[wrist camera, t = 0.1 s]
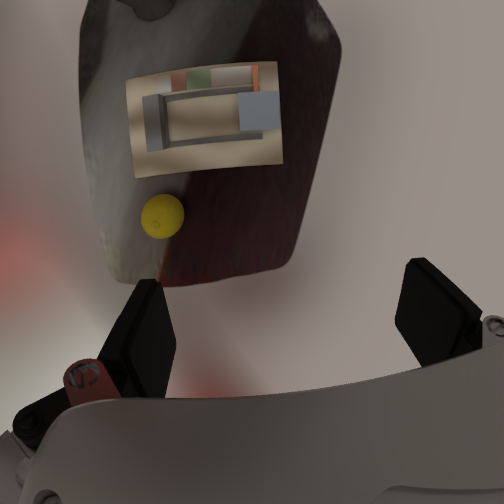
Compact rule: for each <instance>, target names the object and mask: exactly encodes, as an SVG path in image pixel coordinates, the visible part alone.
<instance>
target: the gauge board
mask: <svg viewBox="0 0 504 504" xmlns="http://www.w3.org/2000/svg"><path fill="white" fill-rule="evenodd" d="M252 65H257V72H258V87H259V92H261V91H278V96H279V83H278V69H277V61H276V62H246V63H231V64H220V65H210V66H202V67H194V68H187V69H180V70H174V71H168V72H163V73H158V74H152V75H148V76H143V77H138V78H134V79H130V80H126V95H127V108H128V120H129V130H130V140H131V149H132V157H133V164H134V172H135V178H141V177H148V176H155V175H162V174H170V173H178V172H186V171H195V170H205V169H215V168H227V167H239V166H253V165H270V164H283V152H282V132H281V115H280V129H265V130H248V131H240V119H239V104H238V93H243V92H254V90H253V76H252ZM279 112H280V98H279Z"/></svg>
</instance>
